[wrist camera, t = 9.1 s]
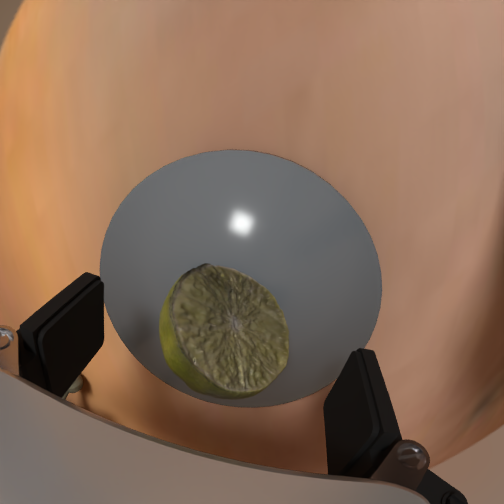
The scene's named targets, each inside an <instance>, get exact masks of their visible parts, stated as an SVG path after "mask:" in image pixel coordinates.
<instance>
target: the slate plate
mask: <svg viewBox="0 0 504 504" xmlns="http://www.w3.org/2000/svg"><path fill="white" fill-rule="evenodd" d="M204 263H208V264H211V265H214V266H216V265H220V266H224V267H228V268H233V269H236V270H237V271H240V272H242V273H245V274H247V275H248V276H250V277H252V278H253V279H254V280H256V281H257V282H258V283H260V284H261V285H263V286H264V287H265V288H266V289H268V290H269V291H270V293H271V294H272V295H273V296H274V297H275V299H276V301H277V304H278V305H279V307H280V309H282V311H283V313H284V317H285V320H286V324H287V326H288V329H289V357H288V361H287V365H286V367H285V369H284V370H283V371H282V372H281V373H280V374H279V375H278V377H277V378H276V379H275V380H274V381H273V382H272V383H271V384H270V385H269V386H268V387H267V388H266V389H264V390H263V391H262V392H260V393H258V394H256V395H255V396H253V397H249V398H244V399H236V400H235V399H233V400H229V399H219V398H214V397H211V396H207V395H201V394H199V393H196V392H194V391H193V390H191V389H190V388H189V387H188V386H187V385H186V383H185V382H184V381H183V380H182V379H180V378H179V377H178V376H177V375H176V374H174V373H173V371H172V370H171V369H170V368H169V366H168V365H167V363H166V361H165V358H164V355H163V351H162V347H161V343H160V337H159V319H160V312H161V309H162V306H163V304H164V301H165V299H166V297H167V295H168V293H169V291H170V289H171V288H172V286H173V285H174V284H175V282H176V281H177V280H178V279H179V278H180V277H181V275H183V274H184V273H186V272H187V271H189V270H191V269H192V268H196V267H197V266H200V265H202V264H204ZM100 278H101V281H102V282H103V283H104V303H105V306H106V309H107V313H108V315H109V317H110V320H111V322H112V324H113V326H114V328H115V330H116V332H117V333H118V335H119V337H120V338H121V340H122V341H123V343H124V344H125V345H126V347H127V348H128V349H129V351H130V352H131V353H132V354H133V355H134V357H135V358H136V359H137V360H138V361H139V362H140V363H141V364H142V365H143V366H144V367H145V368H147V369H148V370H149V371H150V372H151V373H152V374H154V375H155V376H156V377H158V378H159V379H161V380H162V381H164V382H165V383H167V384H168V385H170V386H172V387H174V388H175V389H177V390H179V391H181V392H183V393H186V394H188V395H190V396H192V397H195V398H198V399H201V400H204V401H207V402H211V403H216V404H220V405H226V406H234V407H266V406H274V405H279V404H284V403H288V402H291V401H295V400H298V399H301V398H303V397H306V396H308V395H310V394H313V393H315V392H317V391H318V390H320V389H322V388H324V387H325V386H327V385H329V384H330V383H331V382H333V381H334V380H335V379H337V378H338V376H339V375H340V373H341V371H342V369H343V367H344V365H345V363H346V362H347V360H348V358H349V356H350V354H351V352H352V351H356V350H357V349H358V348H363V349H364V348H365V346H366V344H367V343H368V341H369V339H370V337H371V335H372V332H373V330H374V328H375V325H376V322H377V318H378V314H379V311H380V305H381V296H382V279H381V269H380V264H379V260H378V255H377V252H376V249H375V246H374V244H373V241H372V238H371V236H370V234H369V232H368V230H367V229H366V227H365V225H364V223H363V221H362V220H361V218H360V217H359V215H358V214H357V213H356V211H355V210H354V209H353V208H352V206H351V205H350V204H349V203H348V201H347V200H346V199H345V198H344V197H343V196H342V195H341V194H340V193H339V192H338V191H337V190H336V189H334V188H333V187H332V186H331V185H330V184H329V183H328V182H327V181H325V180H324V179H322V178H321V177H320V176H318V175H317V174H315V173H314V172H312V171H311V170H309V169H307V168H305V167H303V166H301V165H299V164H297V163H295V162H293V161H291V160H288V159H285V158H282V157H279V156H276V155H273V154H268V153H263V152H258V151H252V150H231V149H230V150H220V151H211V152H205V153H201V154H197V155H193V156H189V157H185V158H182V159H180V160H177V161H175V162H173V163H170V164H168V165H166V166H164V167H162V168H160V169H159V170H157V171H156V172H154V173H152V174H151V175H149V176H148V177H146V178H145V179H144V180H143V181H142V182H141V183H139V184H138V185H137V186H136V187H135V188H134V189H133V190H132V191H131V192H130V193H129V194H128V196H127V197H126V198H125V199H124V200H123V202H122V203H121V204H120V206H119V208H118V209H117V211H116V212H115V214H114V216H113V217H112V220H111V222H110V224H109V227H108V229H107V231H106V234H105V238H104V242H103V246H102V250H101V259H100Z"/></svg>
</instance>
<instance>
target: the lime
mask: <svg viewBox="0 0 504 504" xmlns="http://www.w3.org/2000/svg"><path fill="white" fill-rule="evenodd" d="M159 337H160V343H161V347H162V351H163V355H164V358H165V361H166V363H167V365H168V366H169V368H170V369H171V370H172V371H173V373H174V374H176V375H177V376H178V377H179V378H180V379H182V380H183V381H184V382H185V383H186V385H187V386H188V387H189V388H190V389H191V390H193V391H194V392H196V393H199V394H201V395H207V396H211V397H214V398H219V399H229V400H233V399H235V400H236V399H244V398H249V397H253V396H255V395H256V394H258V393H260V392H262V391H263V390H264V389H266V388H267V387H268V386H269V385H270V384H271V383H272V382H273V381H274V380H275V379H276V378H277V377H278V375H279V374H280V373H281V372H282V371H283V370H284V369H285V367H286V365H287V361H288V357H289V329H288V326H287V324H286V320H285V317H284V313H283V311H282V309H280V307H279V305H278V304H277V301H276V299H275V297H274V296H273V295H272V294H271V293H270V291H269V290H268V289H266V288H265V287H264V286H263V285H261V284H260V283H258V282H257V281H256V280H254V279H253V278H252V277H250V276H248V275H247V274H245V273H242V272H240V271H237V270H236V269H233V268H228V267H224V266H220V265H216V266H214V265H211V264H208V263H204V264H202V265H200V266H197V267H196V268H192V269H191V270H189V271H187V272H186V273H184V274H183V275H181V277H180V278H179V279H178V280H177V281H176V282H175V284H174V285H173V286H172V288H171V289H170V291H169V293H168V295H167V297H166V299H165V301H164V304H163V306H162V309H161V312H160V319H159Z"/></svg>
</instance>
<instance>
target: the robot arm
mask: <svg viewBox="0 0 504 504" xmlns="http://www.w3.org/2000/svg"><path fill="white" fill-rule="evenodd" d="M103 342H104V283H103V282H102V281H101V278H100V277H99V276H96V275H94V274H91V273H88V272H85V273H84V274H82V275H81V276H80V277H79V278H77V279H76V280H75V281H73V282H72V283H71V284H70V285H68V286H67V287H66V288H65V289H63V290H62V291H61V292H60V293H58V294H57V295H56V296H55V297H53V298H52V299H51V300H50V301H48V302H47V303H46V304H45V305H44V306H42V307H41V308H40V309H39V310H38V311H36V312H35V313H34V314H33V315H32V316H30V317H29V318H28V319H27V320H26V321H25V322H23V323H22V324H21V325H20V329H19V330H17V331H15V330H14V329H13V328H11V327H9V326H6V325H0V504H468V503H467V500H466V498H465V496H464V495H463V494H462V493H461V492H460V491H458V490H457V489H455V488H454V487H452V486H451V485H450V484H448V483H447V482H445V481H444V480H442V479H441V478H440V477H438V476H437V475H436V474H434V473H433V472H431V471H430V470H429V469H428V467H429V463H430V457H429V455H428V452H427V451H426V449H425V448H424V447H423V446H422V445H421V444H419V443H417V442H415V441H413V440H402V437H401V433H400V430H399V427H398V423H397V420H396V416H395V413H394V410H393V406H392V403H391V400H390V397H389V393H388V391H387V388H386V385H385V382H384V379H383V376H382V373H381V370H380V367H379V364H378V361H377V358H376V355H375V352H374V351H373V350H368V349H363V348H358V349H357V350H356V351H352V352H351V354H350V356H349V358H348V360H347V362H346V363H345V365H344V367H343V369H342V371H341V373H340V375H339V376H338V378H337V380H336V382H335V384H334V386H333V387H332V389H331V391H330V393H329V394H328V396H327V398H326V400H325V402H324V407H323V410H324V422H325V435H326V448H327V464H328V475H326V474H317V473H309V472H301V471H294V470H287V469H280V468H274V467H268V466H262V465H257V464H252V463H247V462H242V461H238V460H233V459H229V458H225V457H220V456H216V455H212V454H208V453H205V452H201V451H197V450H194V449H190V448H187V447H183V446H180V445H177V444H174V443H170V442H167V441H164V440H161V439H158V438H155V437H152V436H150V435H147V434H144V433H141V432H138V431H136V430H133V429H130V428H128V427H125V426H123V425H120V424H118V423H115V422H113V421H110V420H108V419H106V418H103V417H101V416H99V415H96V414H94V413H92V412H90V411H87V410H85V409H83V408H81V407H79V406H77V405H75V404H73V403H71V402H69V401H67V400H64V399H62V397H63V396H64V395H65V393H66V392H67V391H68V389H69V388H70V387H71V385H72V384H73V383H74V381H75V380H76V379H77V377H78V376H79V375H80V374H81V372H82V371H83V370H84V368H85V367H86V366H87V364H88V363H89V362H90V361H91V359H92V358H93V357H94V356H95V354H96V353H97V352H98V350H99V349H100V348H101V347H102V345H103Z"/></svg>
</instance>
